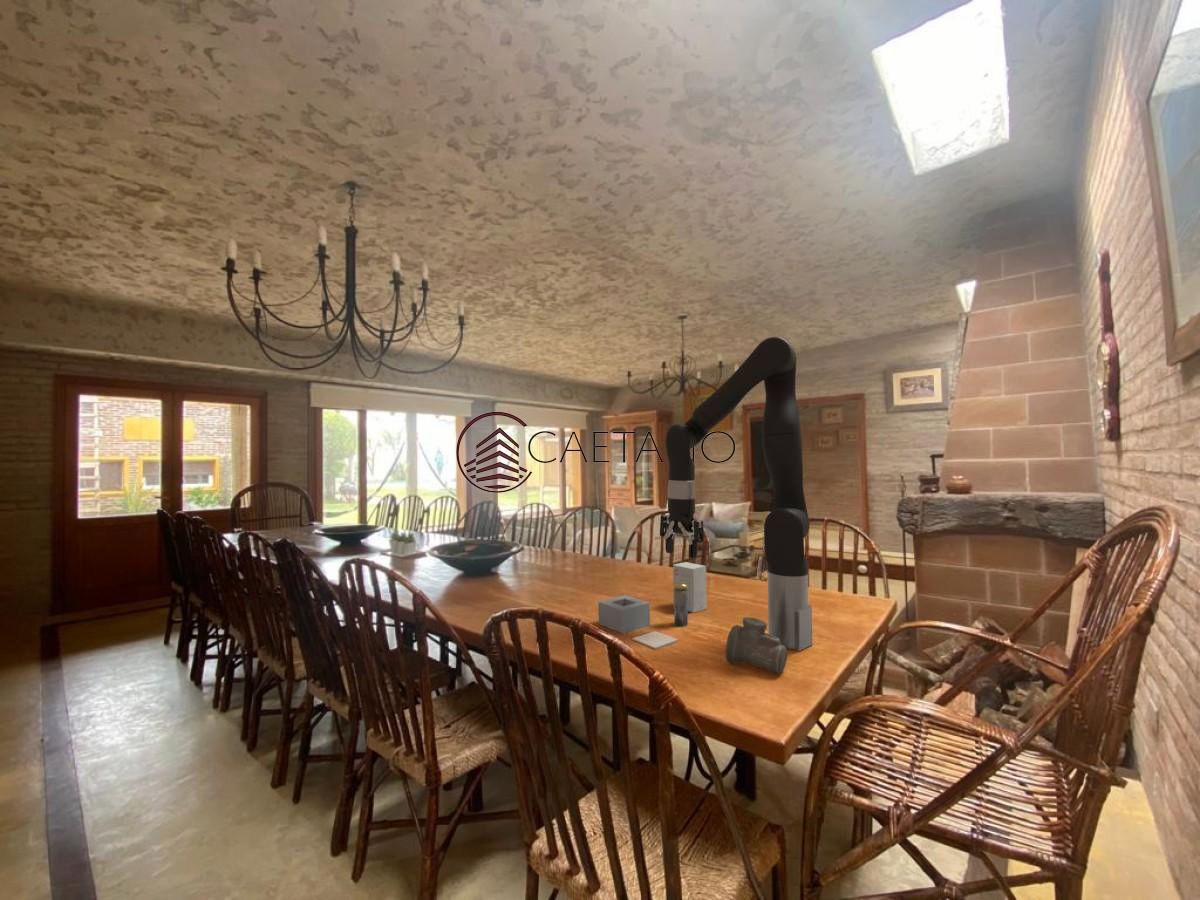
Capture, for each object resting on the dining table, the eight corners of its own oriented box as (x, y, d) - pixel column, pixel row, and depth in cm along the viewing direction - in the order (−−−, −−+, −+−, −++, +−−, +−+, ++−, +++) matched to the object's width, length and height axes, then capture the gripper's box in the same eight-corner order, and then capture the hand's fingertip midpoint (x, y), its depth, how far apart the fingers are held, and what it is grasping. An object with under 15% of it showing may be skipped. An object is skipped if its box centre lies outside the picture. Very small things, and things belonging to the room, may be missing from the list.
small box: (707, 609, 146) (706, 565, 147) (693, 613, 142) (692, 568, 143) (686, 603, 153) (686, 561, 153) (672, 607, 149) (672, 564, 149)
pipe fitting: (720, 664, 106) (726, 617, 106) (734, 655, 112) (740, 611, 113) (776, 685, 99) (782, 635, 99) (787, 674, 105) (793, 627, 105)
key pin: (691, 624, 133) (691, 584, 133) (681, 627, 130) (681, 586, 131) (680, 620, 136) (679, 581, 136) (670, 623, 134) (670, 583, 134)
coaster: (678, 641, 121) (678, 639, 121) (655, 649, 116) (655, 647, 116) (655, 632, 127) (655, 631, 127) (632, 639, 122) (632, 638, 122)
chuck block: (649, 625, 133) (649, 602, 133) (622, 633, 126) (622, 610, 127) (625, 616, 141) (625, 595, 141) (598, 623, 134) (598, 601, 134)
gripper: (710, 498, 131) (709, 558, 130) (672, 494, 142) (671, 549, 142) (691, 499, 126) (690, 562, 126) (653, 495, 137) (652, 552, 137)
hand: (680, 555), depth 134 cm, fingers open, 8 cm apart
